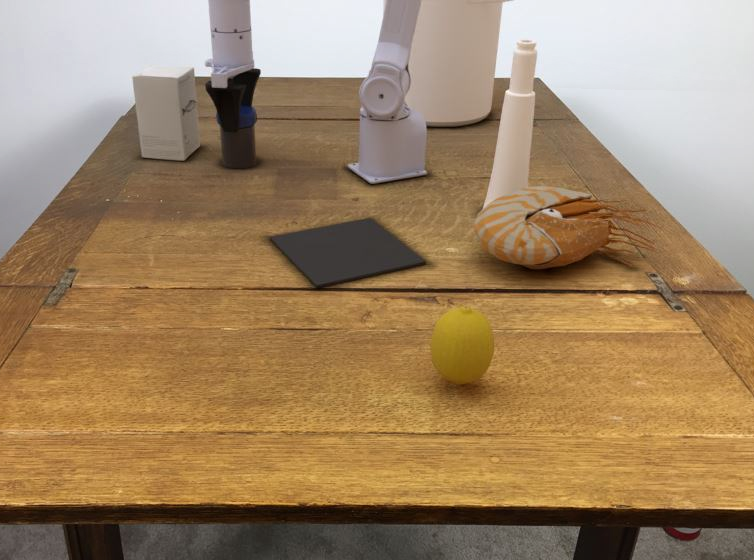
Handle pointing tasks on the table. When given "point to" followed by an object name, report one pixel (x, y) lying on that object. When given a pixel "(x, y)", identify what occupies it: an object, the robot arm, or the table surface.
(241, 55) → the robot arm
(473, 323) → the lemon
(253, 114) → the jar lid
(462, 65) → the bucket
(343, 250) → the mat
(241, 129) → the jar
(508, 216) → the nautilus
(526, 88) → the cosmetic bottle
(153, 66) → the white packaging box
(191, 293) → the table surface
